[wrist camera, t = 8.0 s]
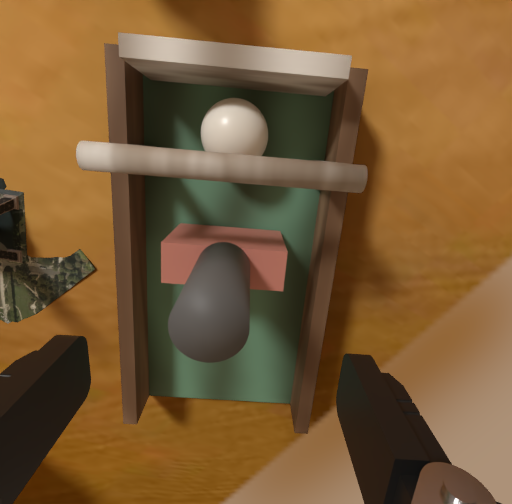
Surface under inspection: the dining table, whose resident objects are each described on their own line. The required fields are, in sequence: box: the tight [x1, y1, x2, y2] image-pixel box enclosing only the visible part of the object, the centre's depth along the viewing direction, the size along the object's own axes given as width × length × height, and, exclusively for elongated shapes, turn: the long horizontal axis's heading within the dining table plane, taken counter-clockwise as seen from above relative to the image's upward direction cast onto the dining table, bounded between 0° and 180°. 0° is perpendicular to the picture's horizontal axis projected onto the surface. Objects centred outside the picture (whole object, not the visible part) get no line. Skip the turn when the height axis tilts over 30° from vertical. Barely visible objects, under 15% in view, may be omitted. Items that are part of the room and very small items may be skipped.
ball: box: [201, 98, 268, 156], centre depth 19 cm, size 4×4×4 cm
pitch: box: [76, 33, 368, 434], centre depth 20 cm, size 14×25×10 cm, turn 175°
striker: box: [161, 223, 288, 363], centre depth 17 cm, size 7×3×12 cm, turn 85°
